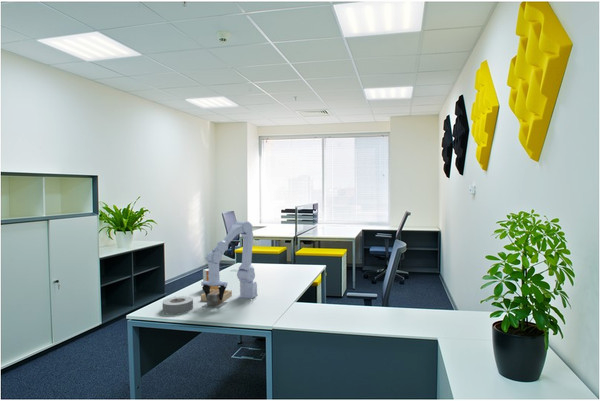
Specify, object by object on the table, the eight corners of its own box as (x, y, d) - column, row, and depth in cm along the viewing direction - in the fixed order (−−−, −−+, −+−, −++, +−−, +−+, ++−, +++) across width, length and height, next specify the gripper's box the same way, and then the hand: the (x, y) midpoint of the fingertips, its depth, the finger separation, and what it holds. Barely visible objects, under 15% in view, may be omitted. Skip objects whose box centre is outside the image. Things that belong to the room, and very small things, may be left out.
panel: (227, 303, 208) (227, 302, 208) (219, 308, 198) (218, 307, 198) (210, 302, 211) (210, 301, 211) (201, 307, 201) (201, 306, 201)
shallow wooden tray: (231, 296, 222) (231, 290, 221) (222, 302, 210) (222, 296, 210) (211, 295, 225) (211, 289, 225) (200, 301, 213) (200, 295, 213)
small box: (206, 291, 233) (206, 270, 233) (203, 289, 238) (202, 269, 238) (219, 289, 238) (218, 269, 237) (215, 287, 243) (215, 267, 243)
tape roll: (187, 314, 191) (187, 304, 191) (157, 314, 191) (157, 304, 191) (196, 305, 206) (196, 296, 206) (168, 305, 207) (168, 296, 207)
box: (222, 302, 208) (222, 291, 208) (215, 306, 200) (215, 295, 200) (214, 301, 209) (214, 291, 209) (207, 306, 202) (207, 294, 201)
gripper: (198, 275, 202) (198, 300, 202) (223, 276, 198) (223, 302, 199) (204, 272, 209) (205, 296, 209) (228, 273, 205) (229, 298, 206)
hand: (214, 299), depth 204 cm, fingers open, 7 cm apart
